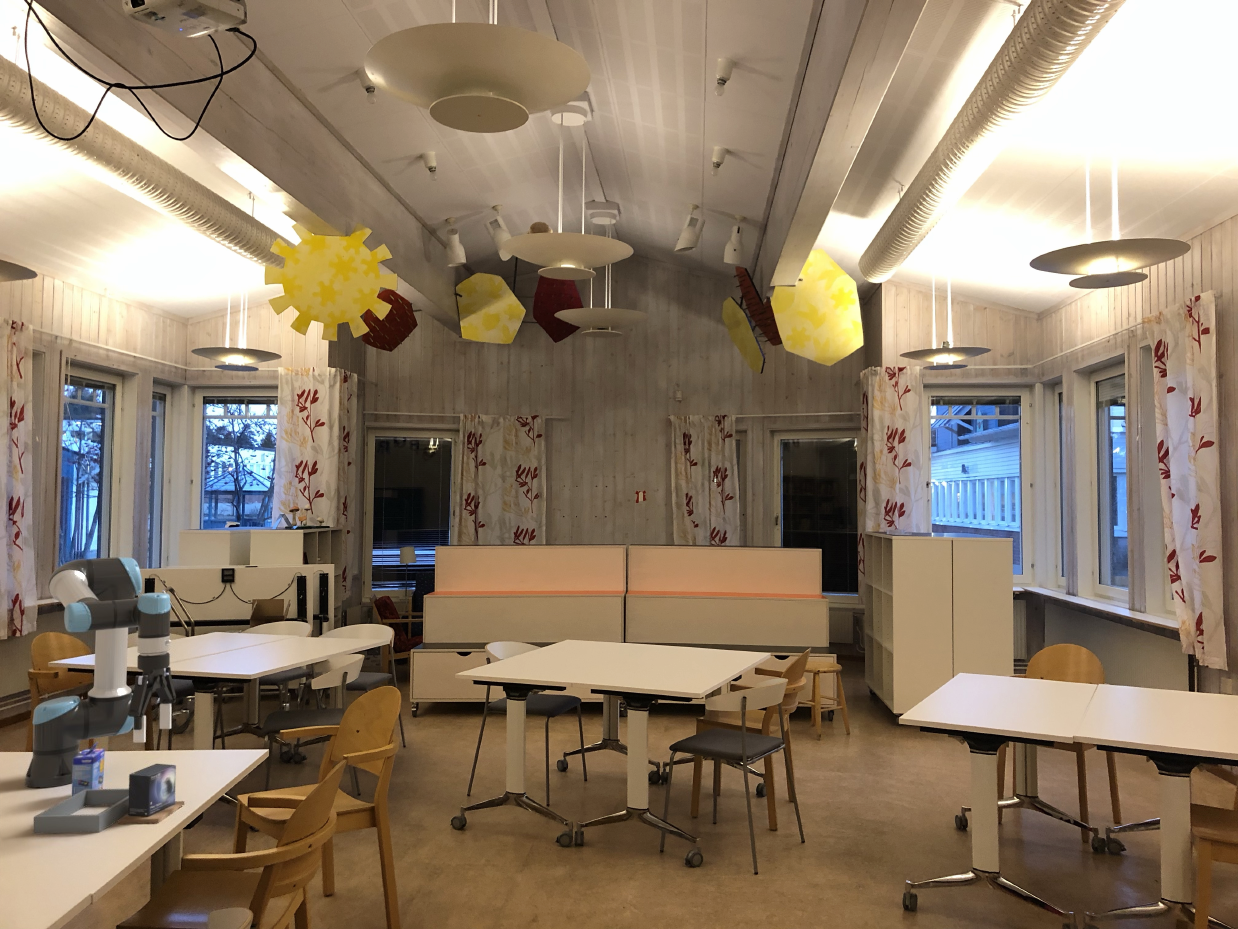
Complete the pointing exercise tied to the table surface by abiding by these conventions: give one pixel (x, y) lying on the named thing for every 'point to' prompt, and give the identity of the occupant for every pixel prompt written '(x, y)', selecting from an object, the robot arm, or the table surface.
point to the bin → (64, 822)
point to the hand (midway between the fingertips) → (152, 735)
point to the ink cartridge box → (88, 770)
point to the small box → (151, 789)
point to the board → (153, 818)
